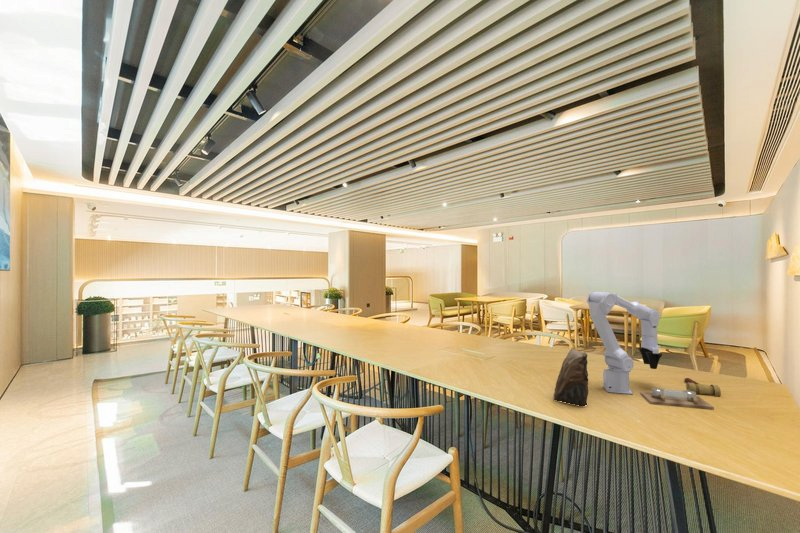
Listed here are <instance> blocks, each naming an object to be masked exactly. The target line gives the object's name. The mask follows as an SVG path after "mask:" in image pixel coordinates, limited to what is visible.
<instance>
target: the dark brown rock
mask: <svg viewBox="0 0 800 533" xmlns="http://www.w3.org/2000/svg"><path fill="white" fill-rule="evenodd" d="M588 363H589V362H588V354H587V353H586V352H583V351H579V350H577V349H576V348H572V347H570V350H569V352H568V353H567V355H566V357H565V358H564V360H563V361H562V364H561V367H560V371H559V373H558V376H557V379H556V382H555V388H554V392H553V401H554V400H557V401H562V402H566V403H565V404H567V403H570V404H575V405H574V406H576V405H579V406H585V405H587V403H588V402H587V401H588V396H589V378H588V377H589V374H588V373H589V372H588ZM557 401H556V402H557ZM562 402H561V403H562ZM570 404H569V405H570ZM579 406H578V407H579ZM587 406H588V405H587Z"/></svg>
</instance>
